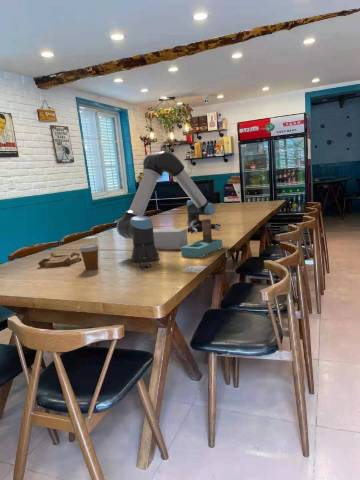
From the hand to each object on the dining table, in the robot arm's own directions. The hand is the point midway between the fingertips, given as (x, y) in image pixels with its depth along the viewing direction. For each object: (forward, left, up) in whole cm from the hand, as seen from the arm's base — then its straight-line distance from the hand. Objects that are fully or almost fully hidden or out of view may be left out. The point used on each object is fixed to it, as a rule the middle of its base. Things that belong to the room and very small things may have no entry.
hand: (208, 230), depth 198 cm
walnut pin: (+1, +1, -10) cm, 10 cm away
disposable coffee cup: (-54, +38, -12) cm, 68 cm away
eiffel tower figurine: (-42, +11, -12) cm, 45 cm away
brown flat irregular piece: (-52, +69, -12) cm, 88 cm away
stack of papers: (0, +36, -12) cm, 38 cm away
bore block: (-5, +1, -12) cm, 13 cm away
